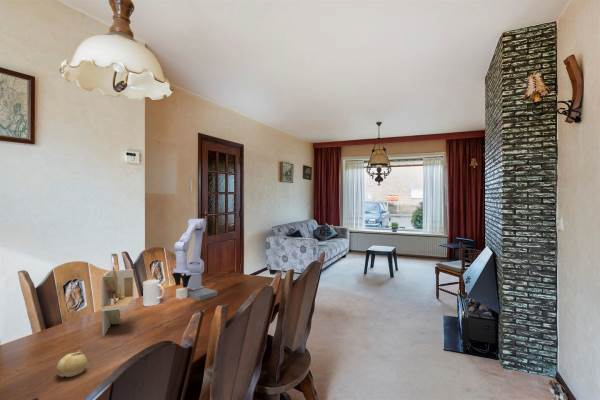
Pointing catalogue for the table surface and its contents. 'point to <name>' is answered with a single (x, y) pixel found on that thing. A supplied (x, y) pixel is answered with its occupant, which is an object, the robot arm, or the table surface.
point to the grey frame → (115, 295)
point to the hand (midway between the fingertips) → (181, 286)
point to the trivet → (202, 294)
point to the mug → (151, 292)
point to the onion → (71, 364)
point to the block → (181, 293)
